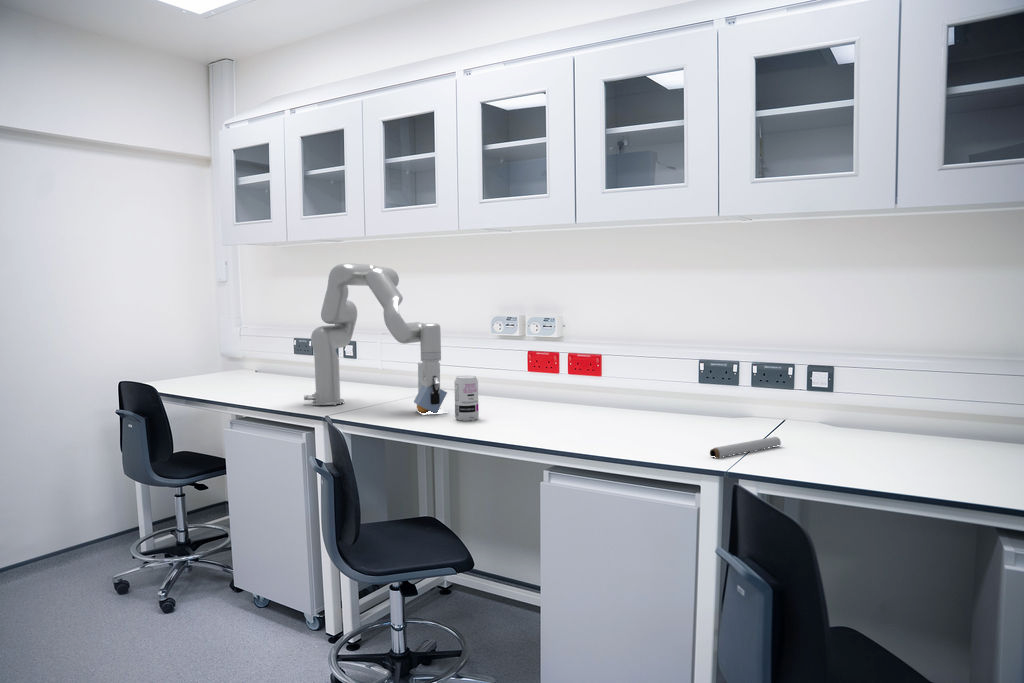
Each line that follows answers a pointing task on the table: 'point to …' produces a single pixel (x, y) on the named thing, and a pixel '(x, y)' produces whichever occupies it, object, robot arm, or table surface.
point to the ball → (421, 409)
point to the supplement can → (466, 398)
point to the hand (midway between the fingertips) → (431, 402)
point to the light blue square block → (428, 399)
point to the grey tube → (744, 447)
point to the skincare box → (421, 375)
